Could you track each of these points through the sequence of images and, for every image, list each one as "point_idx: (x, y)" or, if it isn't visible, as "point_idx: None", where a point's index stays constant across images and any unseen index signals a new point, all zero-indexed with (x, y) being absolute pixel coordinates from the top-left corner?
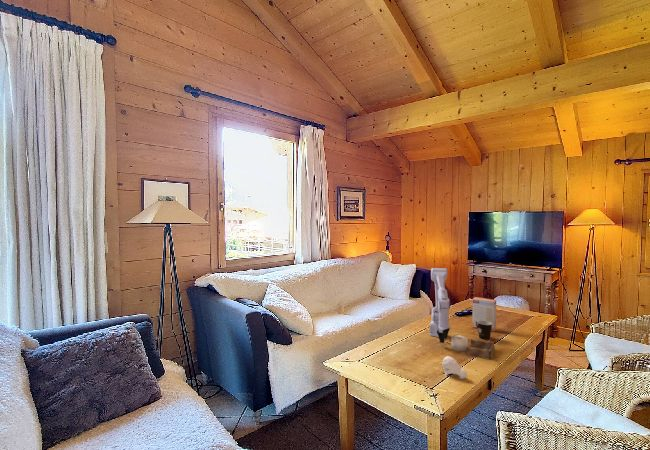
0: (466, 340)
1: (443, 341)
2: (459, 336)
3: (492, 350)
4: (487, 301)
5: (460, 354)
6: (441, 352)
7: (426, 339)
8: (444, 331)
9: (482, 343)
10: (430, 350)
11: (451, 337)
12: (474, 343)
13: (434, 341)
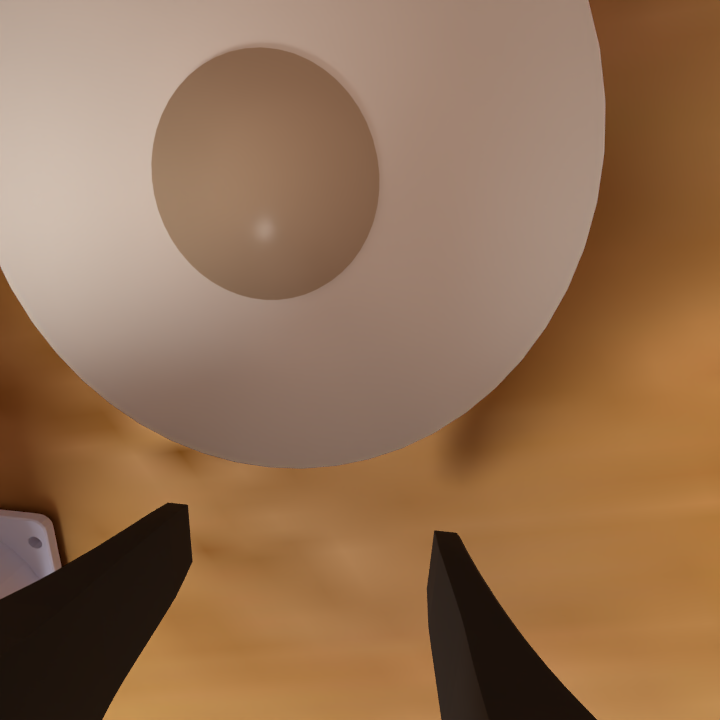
0: None
1: (470, 564)
2: (88, 213)
3: None
4: None
5: (712, 126)
6: (717, 484)
7: (256, 710)
8: (67, 707)
9: None
10: (681, 635)
11: (350, 461)
12: None
13: (268, 619)
